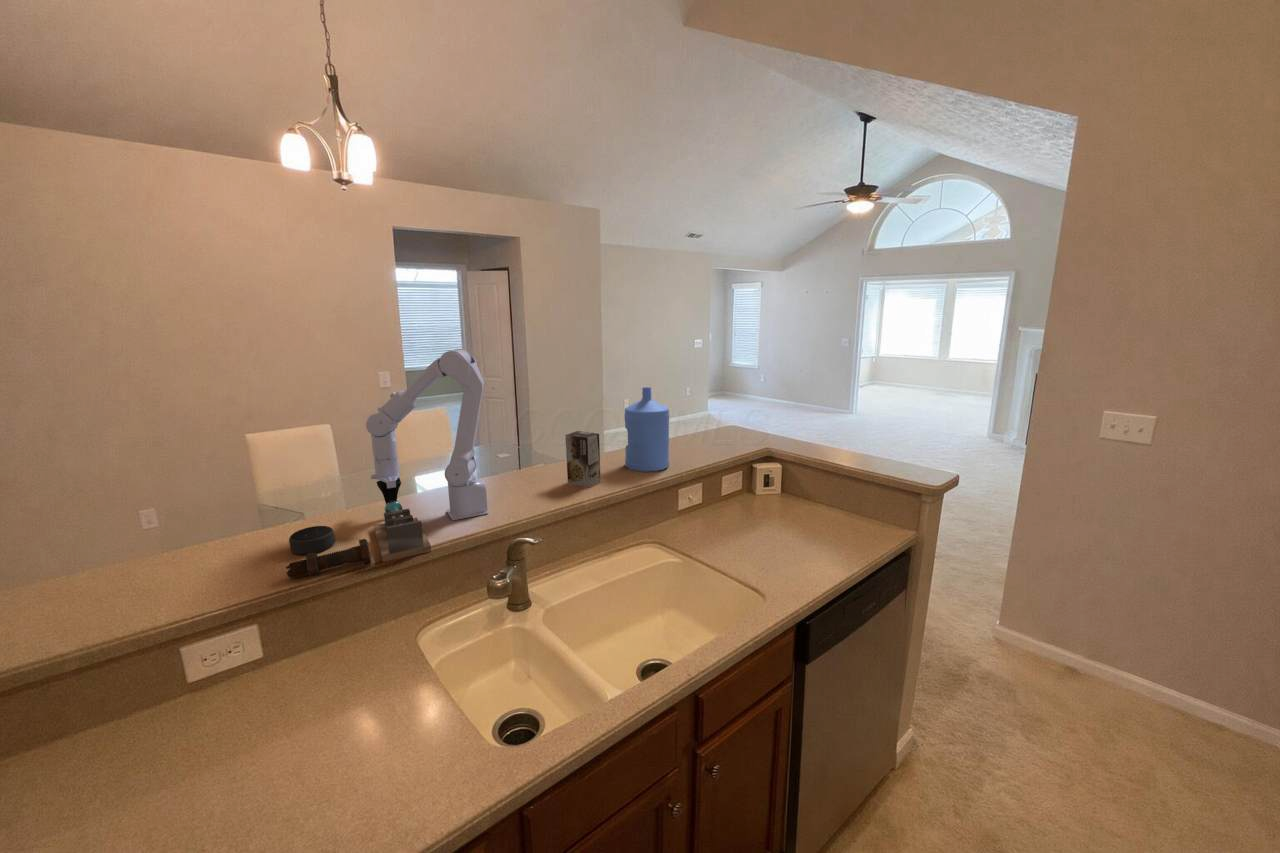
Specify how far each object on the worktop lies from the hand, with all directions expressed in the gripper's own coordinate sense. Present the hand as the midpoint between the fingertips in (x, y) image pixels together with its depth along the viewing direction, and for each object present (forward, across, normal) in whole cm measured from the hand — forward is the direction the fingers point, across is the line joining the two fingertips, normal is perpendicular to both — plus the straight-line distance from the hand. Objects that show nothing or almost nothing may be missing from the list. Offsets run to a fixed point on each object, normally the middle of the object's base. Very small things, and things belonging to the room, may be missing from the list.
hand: (391, 506), depth 139 cm
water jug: (+3, -4, +83) cm, 83 cm away
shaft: (+1, +13, 0) cm, 13 cm away
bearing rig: (+3, +18, 0) cm, 18 cm away
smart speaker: (+3, +11, -18) cm, 21 cm away
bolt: (+3, +26, -15) cm, 30 cm away
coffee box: (+3, +1, +56) cm, 56 cm away
